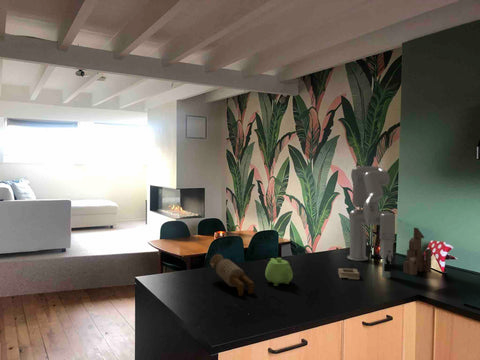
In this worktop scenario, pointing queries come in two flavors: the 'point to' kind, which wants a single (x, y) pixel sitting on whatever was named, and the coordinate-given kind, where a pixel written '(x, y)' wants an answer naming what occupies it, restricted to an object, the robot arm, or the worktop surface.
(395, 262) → the worktop surface
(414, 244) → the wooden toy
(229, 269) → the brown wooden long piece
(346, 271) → the tan rectangular frame
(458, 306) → the worktop surface
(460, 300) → the worktop surface
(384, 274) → the dowel
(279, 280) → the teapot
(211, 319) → the worktop surface
